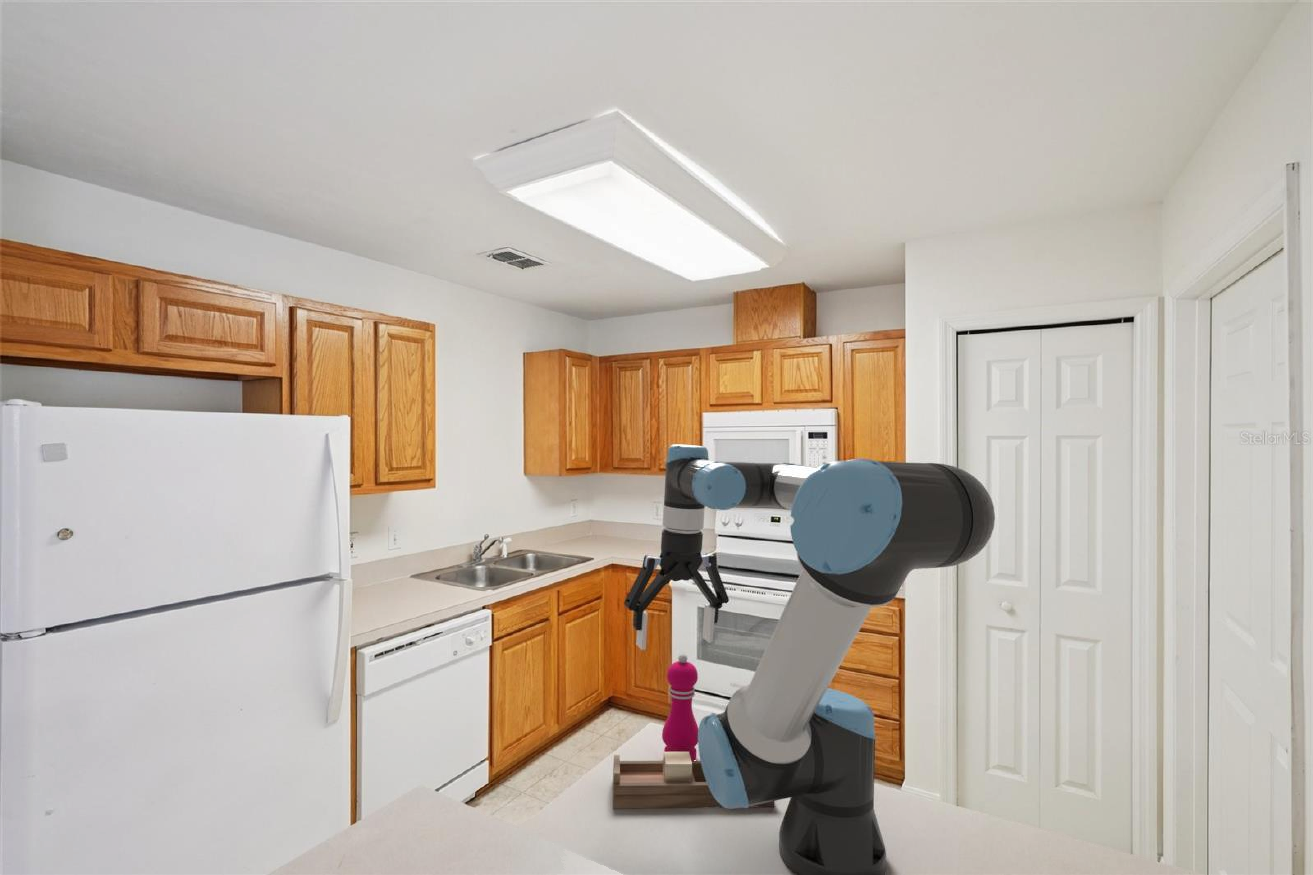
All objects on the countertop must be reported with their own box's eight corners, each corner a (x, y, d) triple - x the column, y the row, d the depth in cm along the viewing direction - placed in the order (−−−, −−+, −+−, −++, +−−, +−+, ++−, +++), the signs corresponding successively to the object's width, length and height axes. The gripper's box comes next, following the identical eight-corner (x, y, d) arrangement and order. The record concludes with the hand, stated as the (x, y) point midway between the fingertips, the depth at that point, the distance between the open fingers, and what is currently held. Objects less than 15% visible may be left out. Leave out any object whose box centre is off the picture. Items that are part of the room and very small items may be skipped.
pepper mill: (695, 770, 114) (698, 661, 115) (657, 764, 116) (660, 657, 116) (701, 752, 121) (704, 650, 122) (665, 747, 123) (668, 646, 123)
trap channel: (774, 806, 102) (774, 776, 102) (613, 808, 100) (614, 777, 101) (761, 779, 111) (761, 751, 111) (612, 780, 109) (613, 751, 110)
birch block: (691, 788, 104) (692, 764, 104) (665, 788, 103) (665, 764, 103) (688, 774, 108) (688, 751, 108) (662, 774, 108) (663, 751, 108)
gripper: (731, 524, 120) (723, 630, 121) (611, 526, 110) (604, 642, 111) (751, 532, 113) (743, 644, 114) (625, 534, 103) (618, 658, 104)
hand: (674, 643), depth 112 cm, fingers open, 13 cm apart
